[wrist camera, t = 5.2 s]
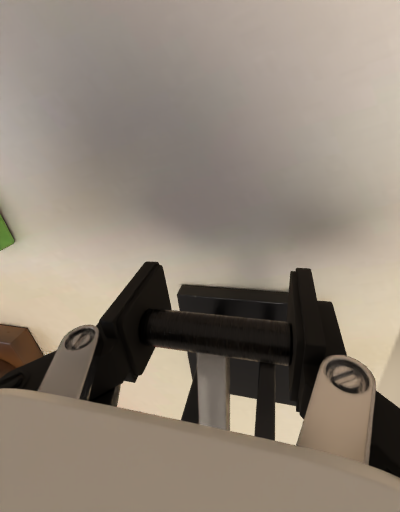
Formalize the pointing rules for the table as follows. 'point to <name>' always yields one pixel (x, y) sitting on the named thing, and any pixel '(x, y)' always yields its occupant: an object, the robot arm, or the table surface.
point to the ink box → (4, 235)
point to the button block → (16, 348)
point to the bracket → (242, 371)
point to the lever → (217, 350)
